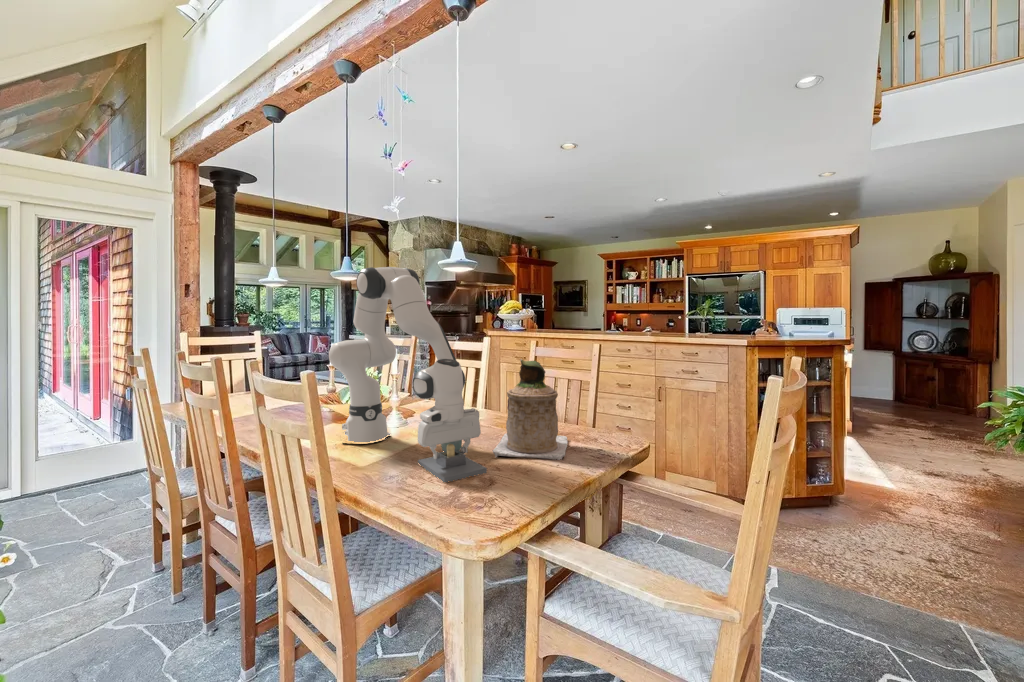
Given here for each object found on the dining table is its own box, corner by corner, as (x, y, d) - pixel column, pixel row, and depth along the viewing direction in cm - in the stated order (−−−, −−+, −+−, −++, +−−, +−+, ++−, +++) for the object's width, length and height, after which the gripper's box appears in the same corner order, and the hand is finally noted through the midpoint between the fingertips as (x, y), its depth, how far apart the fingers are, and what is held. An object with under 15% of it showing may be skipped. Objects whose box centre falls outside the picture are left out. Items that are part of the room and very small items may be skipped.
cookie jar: (565, 461, 151) (564, 362, 149) (491, 458, 155) (489, 362, 153) (568, 439, 176) (567, 355, 174) (504, 438, 180) (502, 355, 178)
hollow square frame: (436, 463, 147) (436, 453, 147) (456, 458, 151) (455, 449, 150) (445, 469, 141) (445, 458, 141) (465, 464, 145) (465, 454, 145)
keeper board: (417, 464, 151) (417, 440, 150) (457, 456, 158) (456, 433, 158) (444, 483, 134) (443, 456, 133) (486, 472, 142) (486, 447, 141)
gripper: (474, 405, 153) (475, 447, 154) (414, 414, 142) (416, 459, 143) (483, 409, 148) (484, 451, 149) (422, 418, 137) (424, 464, 138)
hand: (450, 455), depth 146 cm, fingers open, 8 cm apart
